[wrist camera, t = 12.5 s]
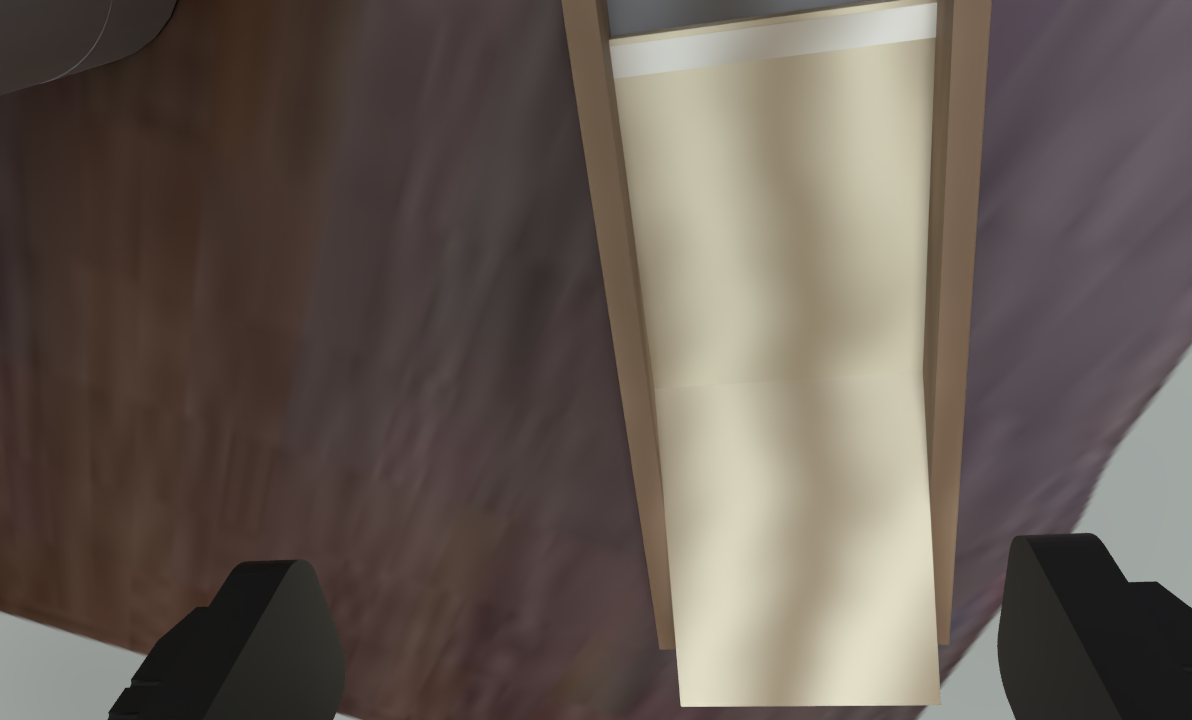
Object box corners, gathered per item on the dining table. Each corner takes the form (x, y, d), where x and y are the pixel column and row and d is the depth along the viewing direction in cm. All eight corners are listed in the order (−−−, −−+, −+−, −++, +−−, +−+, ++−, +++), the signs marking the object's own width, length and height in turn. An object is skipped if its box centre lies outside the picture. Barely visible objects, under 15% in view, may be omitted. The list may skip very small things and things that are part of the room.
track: (663, 606, 40) (657, 713, 35) (527, -339, 24) (477, -399, 19) (931, 598, 38) (967, 711, 33) (985, -437, 22) (1072, -535, 17)
